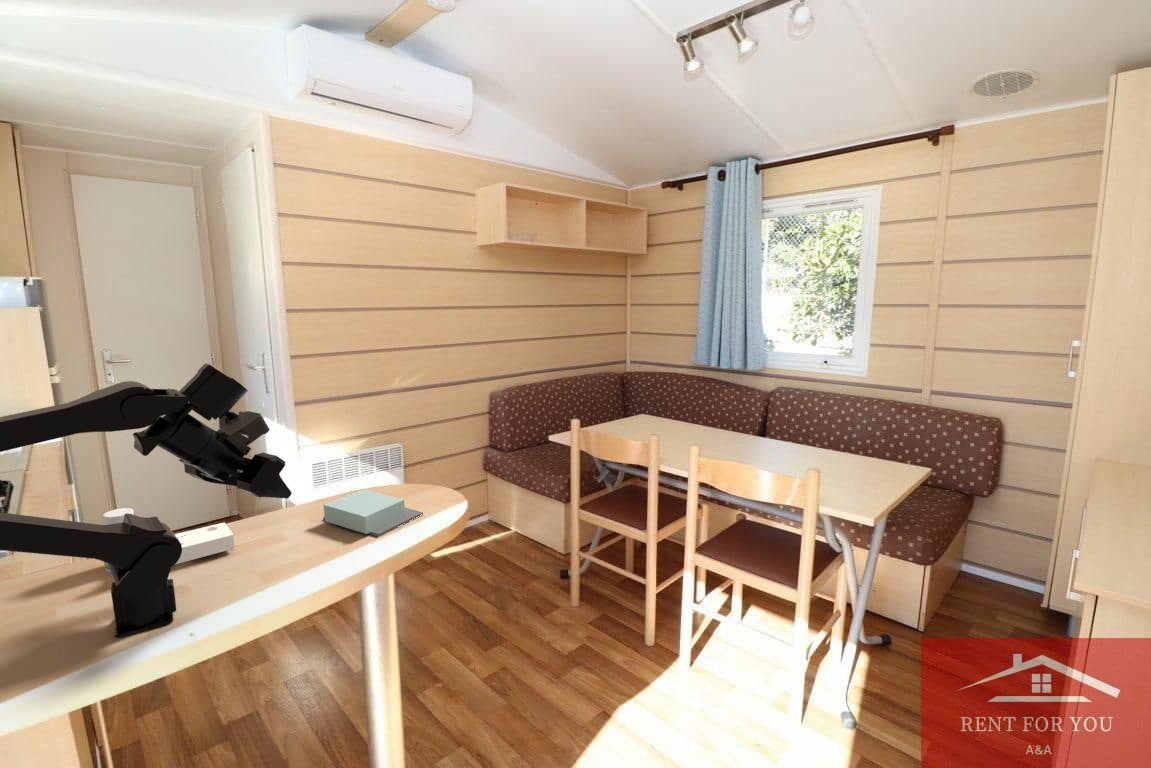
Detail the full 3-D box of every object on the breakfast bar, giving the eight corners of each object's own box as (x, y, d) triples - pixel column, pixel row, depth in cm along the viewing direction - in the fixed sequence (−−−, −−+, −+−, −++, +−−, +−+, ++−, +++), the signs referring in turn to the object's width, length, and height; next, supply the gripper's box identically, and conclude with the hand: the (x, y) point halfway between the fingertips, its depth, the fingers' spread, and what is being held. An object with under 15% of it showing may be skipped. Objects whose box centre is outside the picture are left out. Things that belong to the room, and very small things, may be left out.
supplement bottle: (126, 574, 93) (118, 519, 91) (96, 572, 94) (88, 518, 92) (153, 559, 98) (146, 506, 97) (124, 557, 99) (117, 505, 97)
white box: (145, 577, 92) (139, 534, 91) (140, 562, 97) (134, 521, 96) (235, 553, 101) (231, 513, 100) (226, 540, 106) (222, 502, 105)
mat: (378, 536, 108) (378, 533, 108) (323, 519, 115) (323, 517, 115) (423, 515, 118) (423, 512, 118) (369, 500, 126) (369, 498, 126)
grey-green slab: (365, 516, 107) (404, 499, 116) (323, 504, 113) (363, 489, 121) (366, 533, 108) (404, 515, 116) (324, 521, 113) (364, 504, 122)
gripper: (267, 405, 82) (336, 457, 94) (196, 392, 91) (267, 442, 102) (218, 471, 77) (297, 518, 88) (147, 451, 86) (227, 496, 97)
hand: (272, 490), depth 94 cm, fingers open, 9 cm apart
